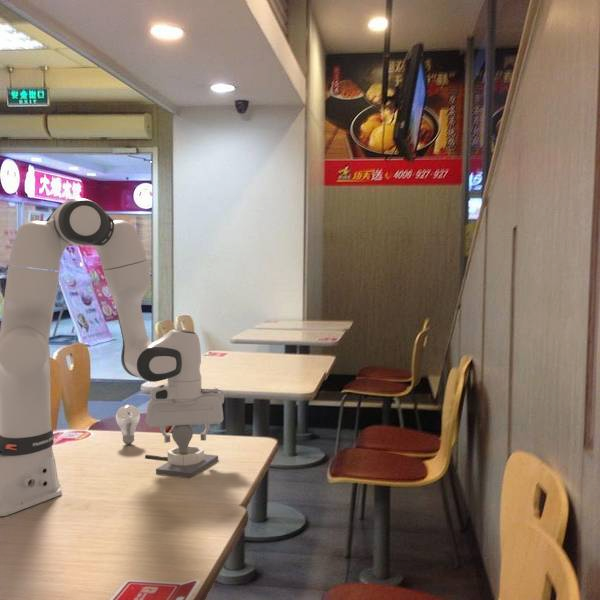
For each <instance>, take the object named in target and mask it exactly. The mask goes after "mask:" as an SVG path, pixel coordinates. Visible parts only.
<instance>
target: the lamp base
mask: <svg viewBox="0 0 600 600" xmlns="http://www.w3.org/2000/svg"><path fill="white" fill-rule="evenodd" d="M187 453H188V454H187V455H180V452H179V447H178V446H175V447H172V448H171V449H168V450H167V456H161V455H151V454H145V455H144V457H145V458H146V459H155V460H164V461H168V462H165V463H164V464H162V465H160V466H158V467H157V468H155V474H156V475H165V476H173V477H180V478H181V477H182V478H189V479H191V478H192V477H194V476H196V475H197V474H199V473H200V472H202V471H203V470H205V469H206V468H208V467H209V466H211V465H214V463H216V462H218V461H219V455H215V454H205V450H204V448H202V447H201V446H199V445H190V444H189V445H188V452H187Z"/></svg>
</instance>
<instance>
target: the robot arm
mask: <svg viewBox="0 0 600 600" xmlns="http://www.w3.org/2000/svg"><path fill="white" fill-rule="evenodd" d="M70 246H71V247H72V246H76V247H77V246H79V247H83V246H91V247H92V248H93V249H94V250H95V252H96V254H97V255H98V257H99V259H100V260H99V261H100V263H101V268H102V271H103V275H104V279H105V283H106V284H107V287H108V290H109V292H110V295H111V297H112V300H113V303H114V305H115V310H116V314H117V320H118V325H119V328H120V331H121V332H120V333H121V337H122V347H121V357H120V358H121V359H120V361H121V365H122V367H123V369H124V371H125V372H126V373H127V374H129V375H130V376H132V377H135V378H139V379H140V380H143V381H147V382H150V383H157V382H160V381H165V380H167V382H166V383H163V384H161V385H157V386H155V387H153V388H152V389H151V391H150V400H149V401H148V403H147V409H146V415H145V417H146V418H145V424H146V425H147V427H150V428H151V427H152V428H153V427H155V428H156V427H159V431H160V433H161V435H162V436H163V437H164V443H171V434H167V432H166V427H175V426H178V425H190V426H193V425H194V426H195V425H204V430H203V432H200V441H207V435H208V432H210V431H209V430H210V429H211V425H213V424H215V425H216V424H217V425H218V424H221V423H222V422H223V421H224V411H223V410H224V409H223V404H224V402H225V394H224V392H223V390H221V389H219V388H216V387H215V388H202V374H201V364H202V352H201V343H200V337H199V335H198V334H197V333H196V332H194V331H192V330H186V329H183V328H182V329H181V328H172V329H169V331H168V332H167V333H166V334H164V335H162V337H160V338H158V339H156V340H154V341H152V340H151V339H150V338H149V336H148V333H147V329H146V325H145V320H144V317H143V311H142V302H143V299H144V297H145V295H146V294H147V293H148V291H149V289H150V287H151V284H152V283H151V272H150V267H149V262H148V259H147V258H148V257H147V254H146V251H145V249H144V245H143V243H142V241H141V238H140V235H139V233H138V232H137V230H136V227H135V226H134V225H133V224H132V223H131V222H130V221H126V220H124V219H123V220H122V219H115V220H114V219H113V218H112V217H111V216H109V214H108V213H107V212H106V211H105V210H104V209H103V207H101V206H100V205H99V204H98V203H97V202H94V201H93V200H91V199H87V198H83V197H81V198H80V197H78V198H73V199H69V200H66V201H64V202H62V203H61V204H60V205H58V206H57V207H56V208H55V209H54V210H53V211H52V212H51V214H50V215H49V216H48V218H46V220H45V221H44V220H43V221H40V220H30V221H27V222H24V223H22V224H21V225H20V226H19V227H18V229H17V231H16V234H15V236H14V240H13V242H12V247H11V250H10V254H9V261H8V268H7V274H6V275H7V276H6V281H5V287H4V288H5V290H4V294H3V295H4V296H3V304H2V305H3V306H2V314H1V320H0V321H1V322H0V517H5V516H9V515H11V514H14V513H17V512H20V511H22V510H25V509H28V508H29V507H33V506H36V505H39V504H41V503H43V502H47V501H49V500H51V499H53V498H56V497H59V496H61V495H62V494H63V493H62V488H61V484H60V481H59V480H60V479H59V478H58V469H57V463H56V457H55V455H54V450H53V445H54V438H55V436H54V429H53V428H52V417H51V415H52V412H51V411H52V410H51V350H50V345H49V341H50V335H51V330H52V329H51V327H52V322H53V318H54V311H55V307H56V299H57V292H58V286H59V285H58V284H59V276H60V268H61V259H62V258H63V257H62V256H63V254H64V251H65V250H66V248H67V247H70Z"/></svg>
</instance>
